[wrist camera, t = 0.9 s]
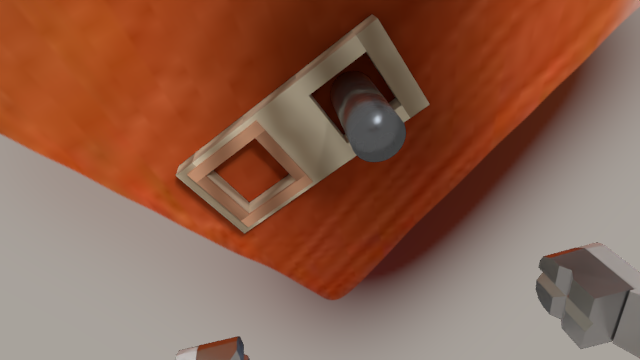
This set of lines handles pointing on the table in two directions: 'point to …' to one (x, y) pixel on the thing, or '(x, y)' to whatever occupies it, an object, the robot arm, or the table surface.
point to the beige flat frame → (299, 128)
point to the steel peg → (367, 117)
